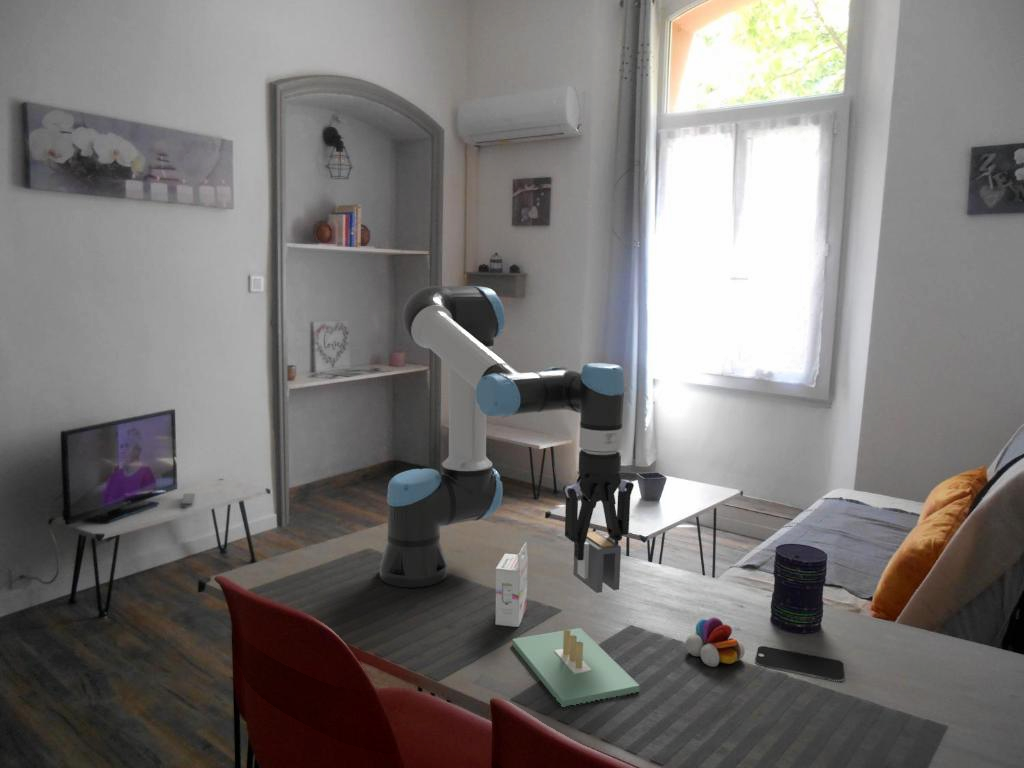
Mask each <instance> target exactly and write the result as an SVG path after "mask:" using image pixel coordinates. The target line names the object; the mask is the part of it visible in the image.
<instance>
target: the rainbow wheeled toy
mask: <svg viewBox="0 0 1024 768" xmlns="http://www.w3.org/2000/svg"><path fill="white" fill-rule="evenodd" d="M732 633H733V629H732V627H731V626H730V625H728V624H724V623H723V621H722V620H721V619H720V618H717V617H715V616H714V617H710V618H709V619H704V618H703V619H700V620H699V621H698V622H697V623H696V626H695V632H694V633H691V634H690V635H689V636H688V637H687V638H686V640H685V648H686V651H687V652H688V654H690V655H691V656H693V657H695V658H696V657H698V658H699V657H700V658H701V660H702V662H703V663H704V664H705V665H707V667H711V668H715V667H717V666H718V665H719V664H720V663H723V664H729V665H730V664H734V663H735V662H739V661H741V659H743V657H744V655H745V645H744V644H743V642H742V641H740V640H739V639H738V638H735V637H730V636H732Z"/></svg>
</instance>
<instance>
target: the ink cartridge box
mask: <svg viewBox="0 0 1024 768" xmlns="http://www.w3.org/2000/svg"><path fill="white" fill-rule="evenodd" d="M527 543H528V542H527V541H525V543H524V544H523V546H522V547H521V549H520V551H519V552H518V554H514V553H504V555H503V556H502V558H501V559H500V561H499V562H498V564H497V566H496V567H495V622H494V623H495V625H496V626H505V627H514V628H516V627H517V628H518V627H519V626H520V625H521V622H522V621H523V617H524V616H525V615H524V614H525V612H526V610H527V595H528V594H527V593H528V561H529V560H528V559H529V558H528V544H527Z"/></svg>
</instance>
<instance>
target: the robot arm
mask: <svg viewBox="0 0 1024 768" xmlns="http://www.w3.org/2000/svg"><path fill="white" fill-rule="evenodd" d="M504 309H505V308H504V305H503V303H502V301H501V299H500V297H499V296H498V294H497V293H496V291H494V290H493V289H491V288H489V287H485V286H476V285H463V286H462V285H461V286H459V285H458V286H457V285H456V286H454V285H453V286H452V285H451V286H450V285H447V286H446V285H445V286H444V285H443V286H439V285H430V286H426V287H423V288H421V289H419V290H417V291H415V292H414V293H413V294H412V295H411V296H410V297H409V298H408V299H407V301H406V303H405V305H404V307H403V311H402V324H403V327H404V330H405V333H406V334H407V335H408V336H409V338H410V339H411V340H412V341H413V342H414V343H415V344H417V345H418V346H419V347H421V348H425V349H430V350H431V351H432V352H433V353H434V354H435V355H436V356H437V357H439V358H440V359H441V360H442V361H443V362H444V363H446V365H448V457H447V458H446V459H444V461H443V462H442V463H441V466H442V467H441V469H442V470H441V474H440V472H439V471H438V470H436V469H433V468H425V467H424V468H422V469H421V468H413V469H409V470H405V471H402V472H400V473H397V474H395V475H394V476H393V477H391V479H390V480H389V482H388V486H387V495H386V502H387V504H386V505H387V510H386V511H387V513H386V514H387V541H386V546H385V549H384V552H383V556H382V558H381V561H380V564H379V578H380V579H381V581H383V582H384V583H385V584H388V585H390V586H393V587H398V588H410V589H411V588H412V589H413V588H414V589H415V588H423V587H424V588H426V587H429V586H432V585H436V584H439V583H440V582H442V581H444V580H445V579H446V578H447V576H448V561H447V559H446V557H445V553H444V551H443V547H442V545H441V537H440V536H441V535H440V534H441V527H445V526H451V525H456V524H460V523H467V522H472V521H473V522H475V521H479V520H482V519H485V518H488V517H491V516H492V515H493V516H494V514H495V512H497V511H498V509H499V508H500V505H501V503H502V498H503V493H504V492H503V490H504V489H503V482H502V481H501V475H500V474H499V472H498V471H497V470H496V469H495V468H494V467H493V462H492V461H491V460H490V459H489V458H488V456H487V416H488V417H501V418H503V417H504V418H505V417H509V416H513V415H514V416H517V415H524V414H532V413H543V412H544V413H545V412H552V411H553V412H554V411H561V410H562V411H563V410H567V411H571V412H576V413H579V414H580V421H579V441H578V442H579V448H580V450H579V451H578V473H579V475H578V478H577V480H576V482H575V483H573V484H571V485H566V484H565V485H563V487H562V490H563V494H564V496H565V512H564V513H565V517H564V536H565V538H566V539H568V540H570V541H571V542H573V543H574V542H575V546H574V548H573V549H574V550H573V552H574V553H573V557H574V556H575V558H576V559H577V560H578V570H577V574H579V575H580V576H581V577H583V578H584V579H587V578H588V566H589V543H587V542H586V537H587V533H588V532H589V530H590V529H589V528H590V525H591V520H592V517H593V514H594V513H593V512H594V509H595V508H596V507H597V503H598V502H601V503H602V507H603V508H602V509H603V513H604V519H605V525H606V530H607V531H606V532H607V534H608V535H604V536H605V537H606V538H608V539H610V540H611V541H613V542H614V543H616V544H618V545H619V541H621V540H622V539H623V536H626V535H628V534H629V531H630V510H631V495H632V492H633V489H634V486H635V484H634V483H633V482H631V481H629V480H628V479H622V478H621V476H620V472H621V467H622V453H621V452H620V450H621V449H622V435H623V415H624V399H625V398H624V397H625V396H624V395H625V389H626V388H625V374H624V373H625V371H624V369H623V367H622V366H620V365H618V364H614V363H607V362H606V363H604V362H594V363H593V362H592V363H591V362H590V363H587V364H584V365H583V366H582V370H581V371H579V370H574V369H570V368H567V367H564V366H559V367H558V366H557V367H556V366H550V367H548V368H546V369H544V370H537V371H532V370H531V371H517V370H516V369H515V368H513V367H512V366H511V365H510V364H508V363H507V362H505V360H503V359H502V358H501V357H499V356H498V355H497V354H496V353H494V352H493V351H492V349H493V348H494V346H495V345H494V343H495V341H494V340H495V338H497V337H499V336H500V335H501V334H502V333H503V329H505V321H506V316H505V310H504ZM617 490H618V491H617ZM579 491H580V492H581V493H582V494H581V495H582V496H581V498H580V503H581V504H580V509H579V500H578V497H579V496H580V494H579ZM616 492H617V507H616V497H615V493H616ZM616 508H617V509H616ZM578 510H579V511H578Z"/></svg>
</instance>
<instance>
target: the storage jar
mask: <svg viewBox="0 0 1024 768" xmlns="http://www.w3.org/2000/svg"><path fill="white" fill-rule="evenodd" d="M774 551H775V552H774V553H775V554H774V560H773V570H772V571H773V578H774V581H773V582H774V583H773V592H772V594H771V601H770V616H769V617H770V618H769V619H770V620H769V621H770V623H771V625H773V626H774V627H775V628H776V629H779V630H780V631H783V632H786V633H789V634H793V635H801V636H810V635H815V634H818V633H820V631H821V630H822V622H823V617H824V600H823V598H824V597H823V595H824V586H825V584H826V581H827V577H826V576H827V572H828V571H827V570H828V569H827V568H828V567H827V564H828V563H827V561H828V554H827V553H826V552H825V551H824V550H822V549H820V548H817V547H814V546H811V545H808V544H802V543H801V544H800V543H799V544H798V543H785V544H784V543H783V544H779V545H778V546H776V547H775V550H774Z"/></svg>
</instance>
